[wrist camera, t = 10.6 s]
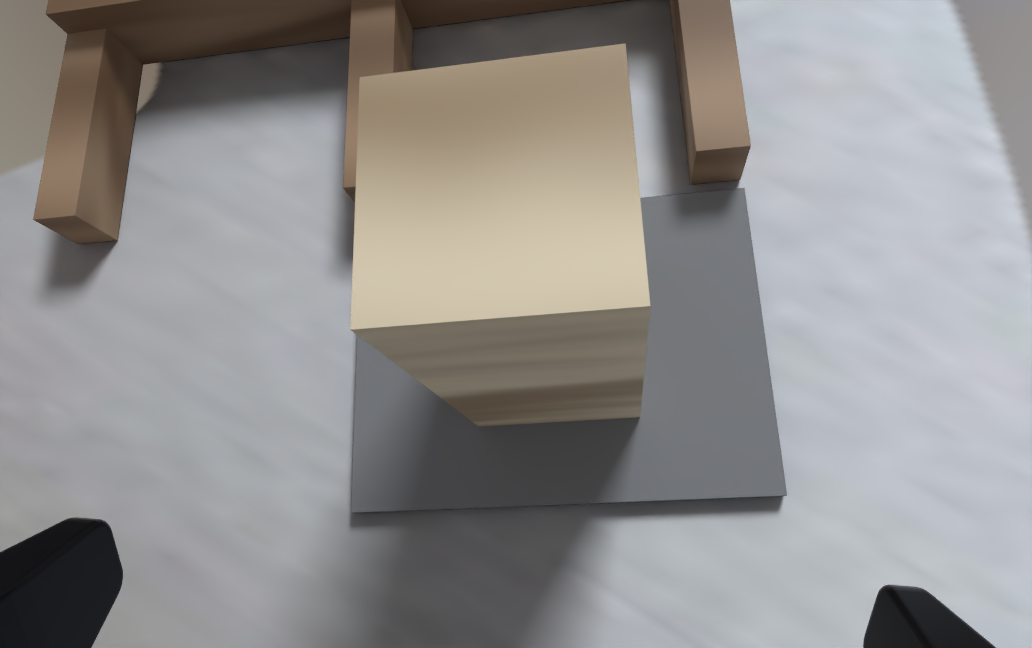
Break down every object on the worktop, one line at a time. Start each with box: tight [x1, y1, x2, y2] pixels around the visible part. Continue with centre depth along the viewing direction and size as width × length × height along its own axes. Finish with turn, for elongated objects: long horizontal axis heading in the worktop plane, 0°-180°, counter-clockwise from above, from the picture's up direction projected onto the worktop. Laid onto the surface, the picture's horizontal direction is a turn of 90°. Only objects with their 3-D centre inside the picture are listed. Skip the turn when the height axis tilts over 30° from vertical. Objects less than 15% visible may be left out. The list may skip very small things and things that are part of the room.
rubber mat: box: [351, 188, 787, 513], centre depth 21 cm, size 9×12×1 cm
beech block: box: [351, 43, 650, 427], centre depth 16 cm, size 5×5×10 cm
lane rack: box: [33, 0, 751, 244], centre depth 23 cm, size 9×22×3 cm, turn 92°
